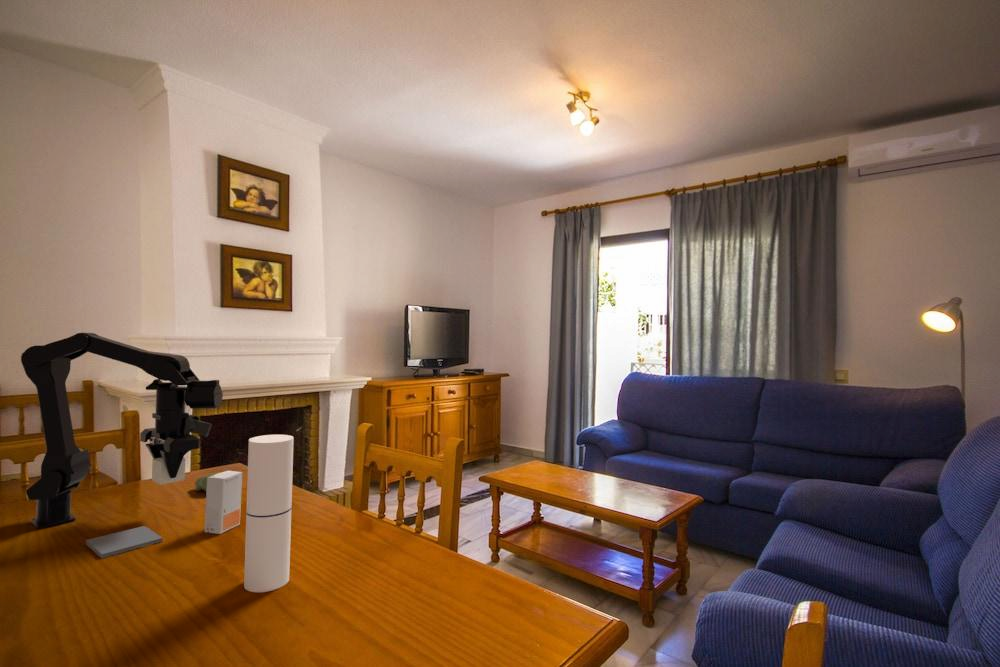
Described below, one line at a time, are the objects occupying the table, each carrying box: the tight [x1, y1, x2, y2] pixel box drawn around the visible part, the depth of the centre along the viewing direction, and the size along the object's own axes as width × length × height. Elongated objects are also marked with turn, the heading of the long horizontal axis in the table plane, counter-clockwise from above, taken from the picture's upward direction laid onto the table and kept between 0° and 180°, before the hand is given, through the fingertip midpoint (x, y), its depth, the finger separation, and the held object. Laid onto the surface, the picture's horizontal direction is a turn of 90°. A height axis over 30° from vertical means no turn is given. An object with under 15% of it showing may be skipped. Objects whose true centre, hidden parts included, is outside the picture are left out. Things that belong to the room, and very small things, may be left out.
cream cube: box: [151, 457, 186, 485], centre depth 115 cm, size 5×5×5 cm
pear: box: [194, 472, 219, 492], centre depth 134 cm, size 6×5×10 cm
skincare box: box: [204, 470, 243, 535], centre depth 109 cm, size 6×4×12 cm
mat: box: [85, 525, 163, 559], centre depth 100 cm, size 10×10×1 cm
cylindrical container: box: [243, 434, 295, 593], centre depth 86 cm, size 7×7×25 cm
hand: (168, 475), depth 115 cm, fingers closed on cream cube, 5 cm apart
